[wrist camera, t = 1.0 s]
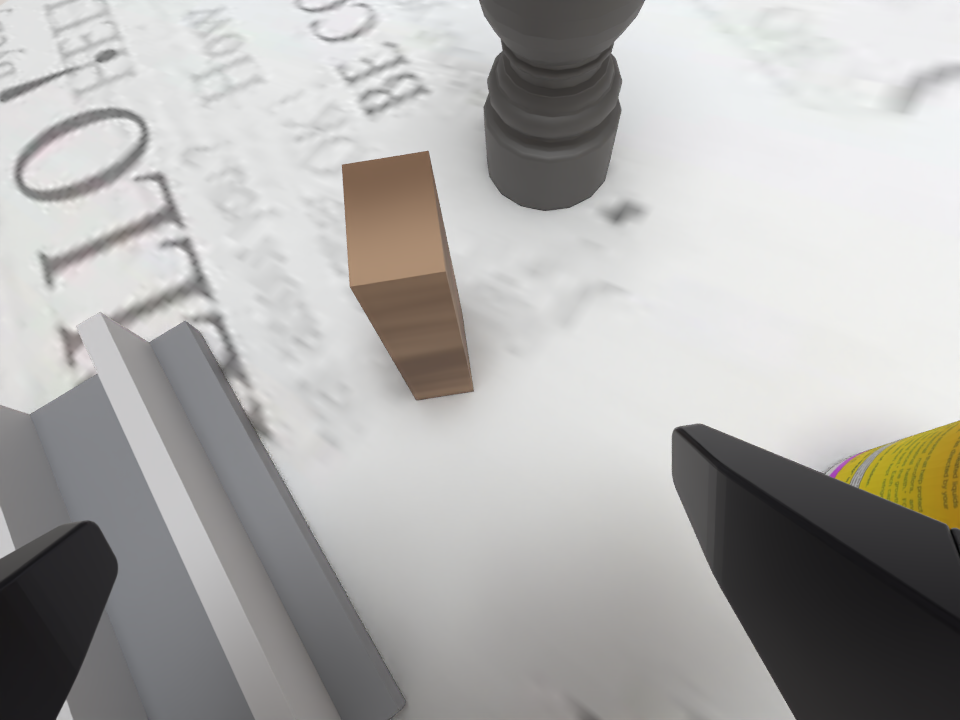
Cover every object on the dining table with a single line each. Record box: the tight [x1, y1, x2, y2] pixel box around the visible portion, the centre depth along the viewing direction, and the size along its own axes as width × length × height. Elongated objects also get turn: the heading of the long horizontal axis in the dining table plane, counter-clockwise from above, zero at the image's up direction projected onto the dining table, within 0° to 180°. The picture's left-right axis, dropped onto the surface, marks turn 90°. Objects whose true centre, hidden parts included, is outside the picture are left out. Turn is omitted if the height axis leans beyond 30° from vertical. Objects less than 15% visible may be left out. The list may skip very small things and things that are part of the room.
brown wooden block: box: [342, 151, 474, 400], centre depth 19 cm, size 5×2×10 cm, turn 8°
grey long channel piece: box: [0, 312, 406, 720], centre depth 19 cm, size 18×10×4 cm, turn 35°
